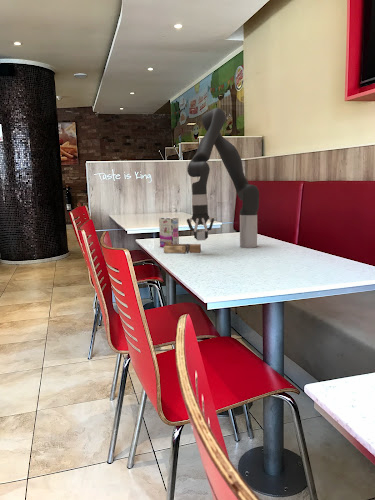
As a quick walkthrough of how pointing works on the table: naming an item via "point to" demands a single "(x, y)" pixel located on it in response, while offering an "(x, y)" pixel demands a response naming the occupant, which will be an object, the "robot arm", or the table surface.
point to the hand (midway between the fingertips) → (201, 238)
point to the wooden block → (189, 247)
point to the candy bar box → (168, 231)
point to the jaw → (174, 249)
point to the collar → (200, 236)
